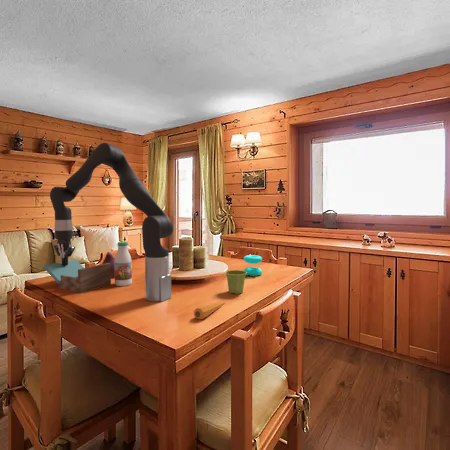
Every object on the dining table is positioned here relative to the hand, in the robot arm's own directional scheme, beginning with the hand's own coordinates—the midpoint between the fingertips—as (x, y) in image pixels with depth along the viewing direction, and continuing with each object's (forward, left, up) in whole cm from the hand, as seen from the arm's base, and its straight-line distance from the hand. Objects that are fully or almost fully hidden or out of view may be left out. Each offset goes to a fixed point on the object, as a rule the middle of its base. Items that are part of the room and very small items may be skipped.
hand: (64, 265), depth 145 cm
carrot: (-82, 0, -9) cm, 82 cm away
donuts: (-73, -59, -9) cm, 94 cm away
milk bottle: (-27, -11, -8) cm, 30 cm away
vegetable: (-10, -19, -9) cm, 23 cm away
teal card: (-7, 0, -6) cm, 9 cm away
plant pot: (-79, -25, -9) cm, 83 cm away
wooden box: (-14, 0, -8) cm, 16 cm away
